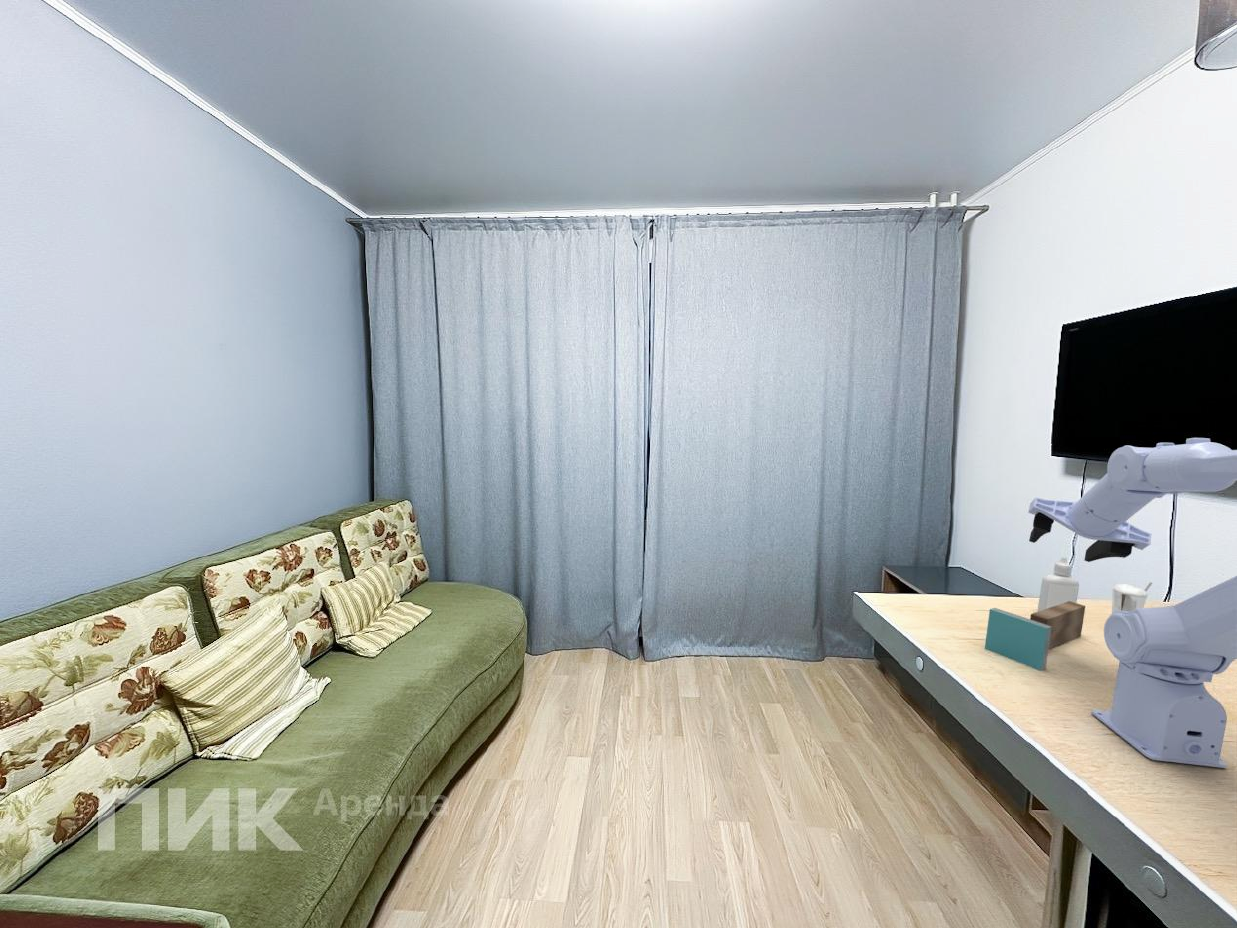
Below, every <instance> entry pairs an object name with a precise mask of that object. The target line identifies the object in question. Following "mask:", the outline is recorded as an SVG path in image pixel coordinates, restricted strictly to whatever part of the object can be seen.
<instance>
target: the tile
mask: <svg viewBox="0 0 1237 928" xmlns="http://www.w3.org/2000/svg"><path fill="white" fill-rule="evenodd" d="M987 622H988V623H987V626H986V627H987V628H986V629H987V630H986V637H985V641H984V642H985V643H984V644H985V645H984V650H986V651H990V652H992V653H995V654H996V655H997V654H998V655H999V656H1002V657H1005V658H1008V659H1009V660H1013V661H1014V662H1017V663H1020V664H1022V665H1025V666H1027V667H1030V668H1032V669H1035V670H1037V671H1039V672H1042V671H1043V670H1046V667H1047V662H1048V653H1049V651H1048V649H1049V642H1050V635H1051V629H1052V626H1049V625H1046V624H1043V623H1040V622H1037V621H1034V620H1031V619H1030V618H1027V617H1025V616H1024V617H1023V616H1021V615H1018V614H1015V613H1012V612H1009V611H1006V610H1004V609H1000V608H997V607H993V608H990V609H989V614H988V621H987Z"/></svg>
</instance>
